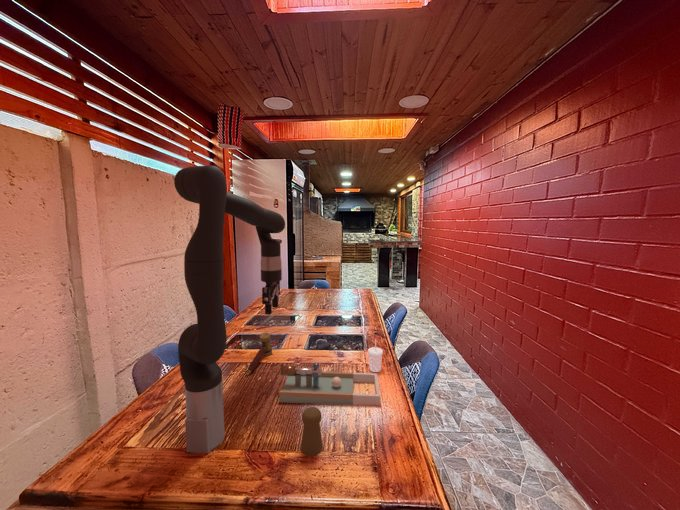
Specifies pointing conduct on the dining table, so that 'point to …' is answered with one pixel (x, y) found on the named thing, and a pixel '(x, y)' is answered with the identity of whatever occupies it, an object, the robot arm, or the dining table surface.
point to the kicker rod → (303, 372)
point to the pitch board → (329, 389)
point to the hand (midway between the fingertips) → (272, 310)
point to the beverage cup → (375, 358)
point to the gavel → (261, 351)
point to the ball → (336, 381)
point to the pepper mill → (311, 432)
